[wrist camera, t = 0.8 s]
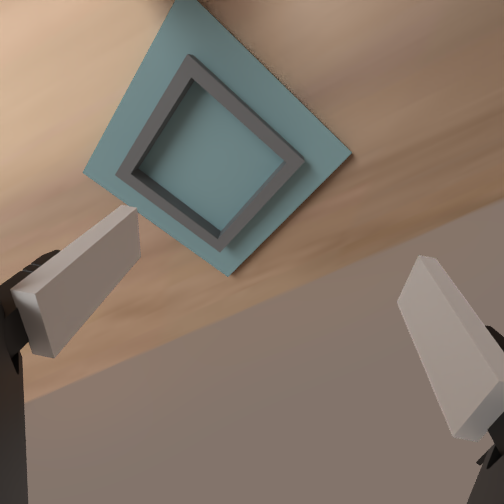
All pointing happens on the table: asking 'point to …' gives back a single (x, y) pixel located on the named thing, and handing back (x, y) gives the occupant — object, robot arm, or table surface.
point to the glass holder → (211, 142)
